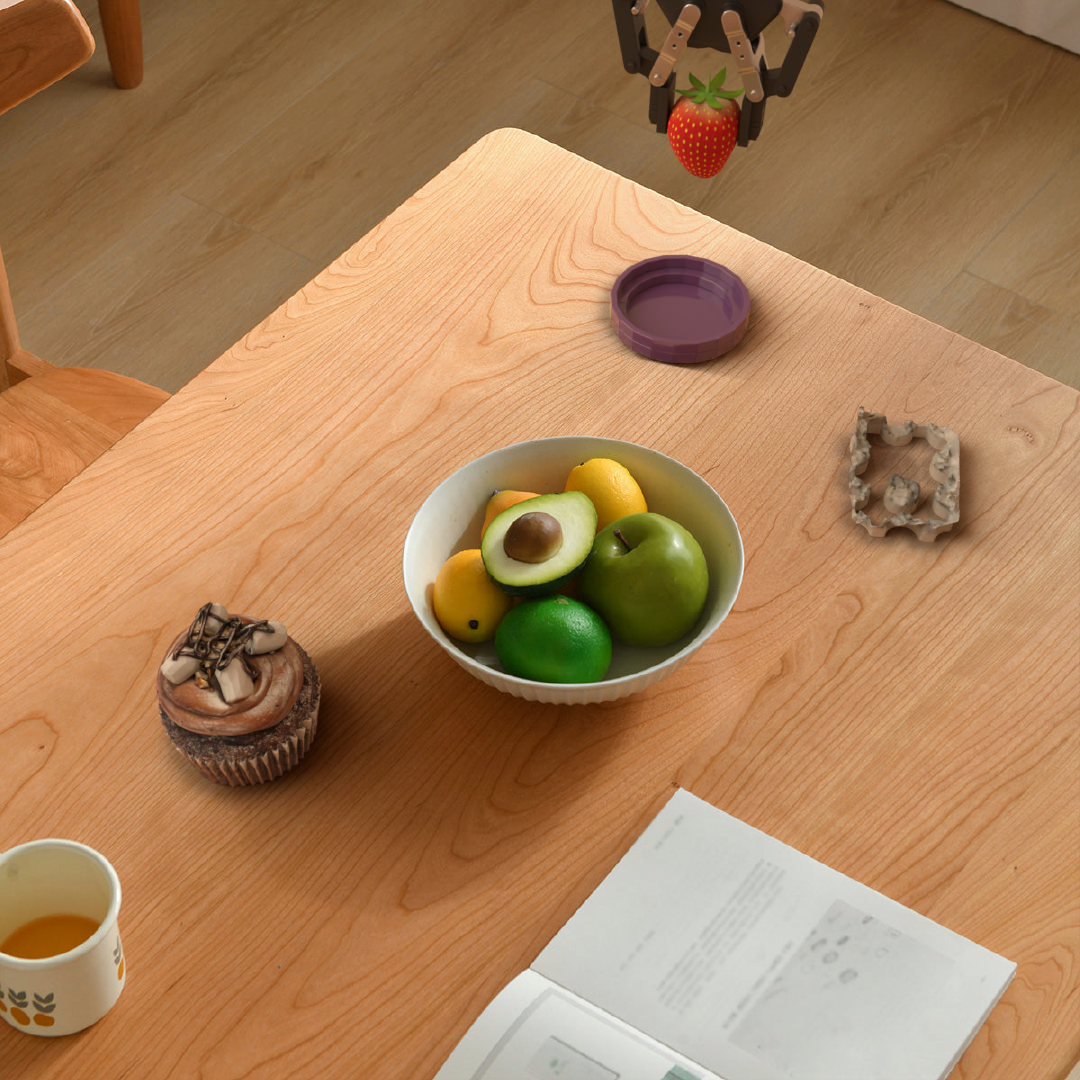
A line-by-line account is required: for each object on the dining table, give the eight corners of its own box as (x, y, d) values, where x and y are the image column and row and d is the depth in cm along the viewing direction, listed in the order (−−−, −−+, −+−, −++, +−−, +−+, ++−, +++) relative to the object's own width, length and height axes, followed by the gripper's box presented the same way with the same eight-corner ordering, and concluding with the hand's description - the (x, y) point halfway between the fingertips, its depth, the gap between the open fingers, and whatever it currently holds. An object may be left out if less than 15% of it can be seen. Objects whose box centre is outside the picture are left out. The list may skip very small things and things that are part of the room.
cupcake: (152, 795, 82) (111, 702, 74) (205, 665, 88) (172, 567, 80) (306, 819, 80) (280, 727, 73) (348, 685, 87) (329, 587, 79)
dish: (758, 293, 112) (762, 268, 110) (730, 381, 105) (734, 355, 103) (629, 269, 114) (630, 244, 112) (593, 353, 107) (594, 328, 105)
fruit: (737, 199, 95) (750, 97, 89) (663, 197, 95) (671, 95, 89) (734, 155, 99) (746, 54, 93) (663, 153, 99) (671, 52, 93)
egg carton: (846, 439, 101) (855, 399, 98) (949, 453, 100) (962, 412, 97) (839, 546, 94) (849, 506, 91) (950, 561, 93) (964, 522, 90)
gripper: (857, -124, 83) (814, 122, 96) (629, -153, 85) (618, 90, 98) (838, -69, 78) (796, 182, 91) (597, -101, 81) (590, 146, 94)
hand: (703, 133), depth 95 cm, fingers closed on fruit, 5 cm apart
